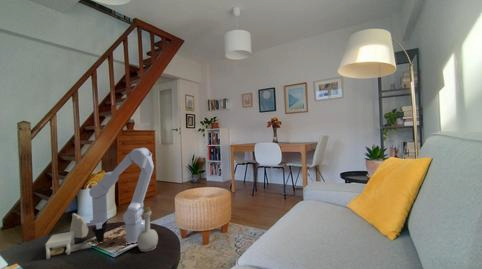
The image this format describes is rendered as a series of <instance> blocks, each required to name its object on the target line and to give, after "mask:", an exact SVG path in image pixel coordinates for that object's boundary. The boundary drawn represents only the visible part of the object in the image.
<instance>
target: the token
mask: <svg viewBox="0 0 482 269" xmlns="http://www.w3.org/2000/svg"><path fill="white" fill-rule="evenodd" d="M64 252H65V247H63V248H56V249H53V250H52V249H50V257H51V256H52V257H53V256H57V255H60V254H62V253H64Z"/></svg>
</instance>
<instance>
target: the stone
mask: <svg viewBox="0 0 482 269" xmlns="http://www.w3.org/2000/svg"><path fill="white" fill-rule="evenodd" d="M71 217H72V219H71V223H70V229H69V232H71V231H74V239H83V238H86V237H88V236H87V235H88V234H89V227H88V225H87V222H86V220H85V218H84V217H83V216H82V215H81V216H80V215H78V214H77V213H75V212H74V213H71Z"/></svg>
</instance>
